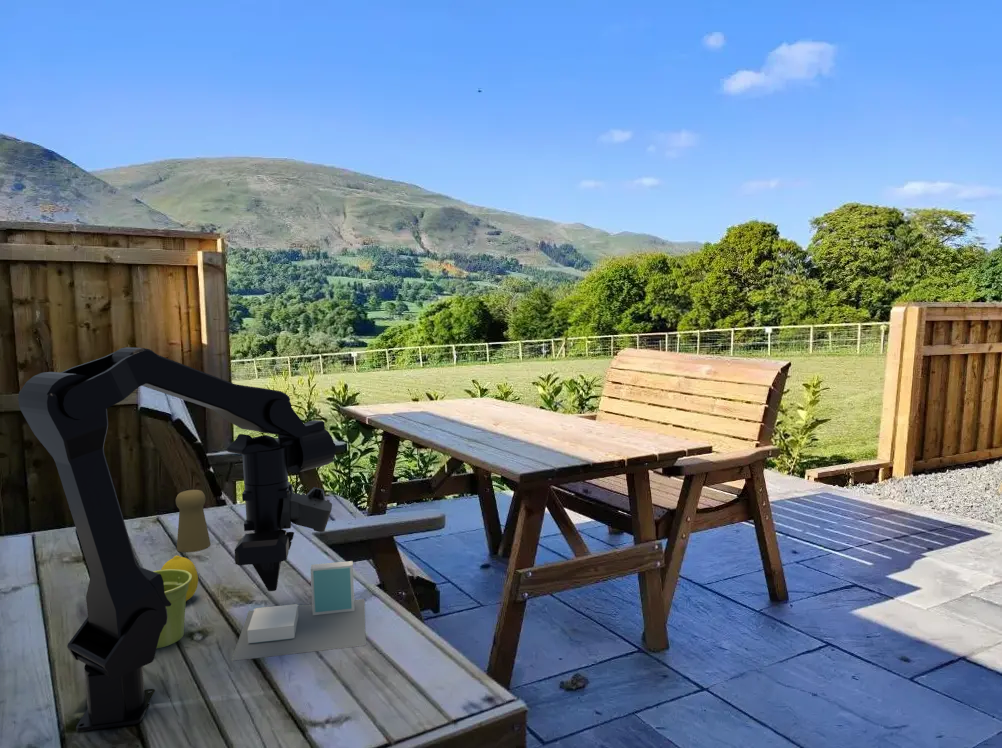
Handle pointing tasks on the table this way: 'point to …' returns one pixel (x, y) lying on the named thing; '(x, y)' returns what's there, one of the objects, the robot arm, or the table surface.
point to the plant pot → (174, 604)
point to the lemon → (188, 566)
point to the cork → (192, 522)
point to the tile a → (273, 623)
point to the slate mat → (309, 634)
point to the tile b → (332, 587)
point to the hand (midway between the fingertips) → (272, 590)
